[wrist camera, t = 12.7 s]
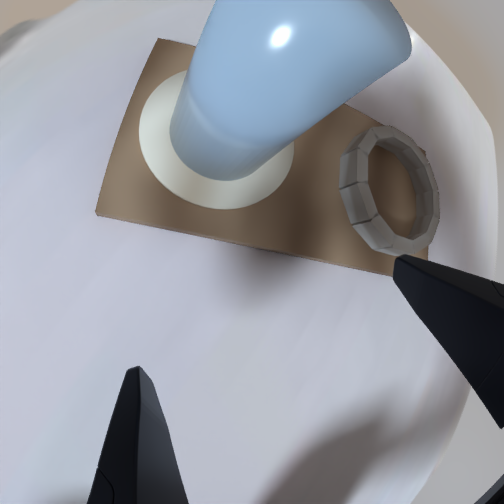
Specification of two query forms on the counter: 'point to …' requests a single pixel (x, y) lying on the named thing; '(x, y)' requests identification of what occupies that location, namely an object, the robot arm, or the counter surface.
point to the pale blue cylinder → (277, 76)
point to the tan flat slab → (276, 183)
